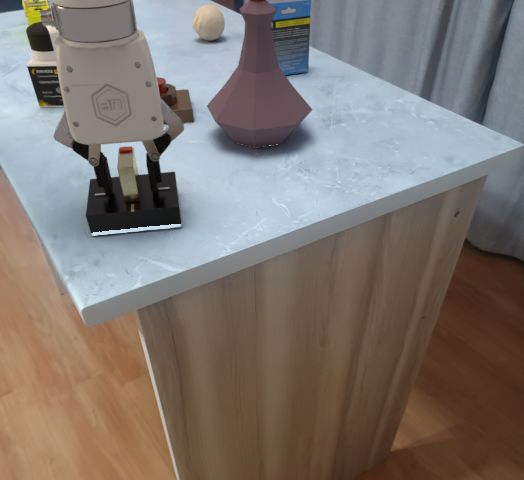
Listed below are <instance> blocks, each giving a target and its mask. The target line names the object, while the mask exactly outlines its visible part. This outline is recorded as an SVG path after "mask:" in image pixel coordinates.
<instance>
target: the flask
mask: <svg viewBox="0 0 524 480" xmlns="http://www.w3.org/2000/svg"><path fill="white" fill-rule="evenodd" d="M271 4H272V3H270V2H269V1H268V0H248V1H247V2H245V3H244V4H243V5H242V6H241V7H240V8H239V12H240V14H241V16H242V19H243V22H244V35H243V41H242V45H241V50H240V56H239V60H238V65H237V67H236V68H235V69H234V70H233V72H232V74H231V75H230V77H229V78H228V80H227V81H226V82H225V84H224V85H223V86H222V87H221V88H220V90H219V91H218V92H217V93H216V94H215V95H214V96H213V98H212V99H211V100H210V101H209V102H208V103H207V105H206V107H207V109H208V111H209V113H210V115H211V116H212V118H213V121H214V122H215V123H216V124H217V125H218V126H219V128H221V129H222V131H223V132H224V133H225V134H226V135H227V136H228V137H229V138H230V139H231V140H232V141H233V142H234V143H235V144H236V143H239V144H238V145H240V144H243V145H242V146H244V145H247V146H246V147H249V146H251V147H250V148H253V147H255V148H254V149H257V148H256V147H262V148H264V147H263V146H269V145H276V144H279V145H280V144H282V143H283V142H284V141H285V140H286V139H288V138H289V137H290V136H291V134H293V132H294V131H295V130H296V129H297V127H299V126H300V125H301V123H302V122H303V121H304V120H305V119H306V118H307V117H308V115H310V113H311V112H312V111H313V108H312V107H311V106H310V105H309V103H308V102H307V101H306V100H305V98H304V97H303V96H302V94H300V93H299V92H298V90H297V89H296V88H295V87H294V85H293V84H292V83H291V82H290V80H289V78H288V77H287V75H285V74H284V73H283V71H282V70H281V69H280V67H279V64H278V60H277V55H276V51H275V47H274V43H273V38H272V27H271V22H272V20H273V17H274V15H275V13H276V9H275V8H274V7H273V6H272V5H271ZM288 136H289V137H288ZM282 141H283V142H282ZM281 142H282V143H281ZM276 146H277V145H276ZM269 147H270V146H269Z"/></svg>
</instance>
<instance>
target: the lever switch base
mask: <svg viewBox="0 0 524 480" xmlns="http://www.w3.org/2000/svg"><path fill="white" fill-rule="evenodd" d="M176 175H177V174H176V171H169V172H168V171H166V172H161V176H162V182H161V183H157V193H153V192H151V187H150V181H149V176H148V173H143V174H139V179H140V201H137V202H126V203H125V201H124V196H123V192H122V187H121V183H120V178H119V176H111V178H112V183H113V190H112V196H111V197H106V195H105V191H104V187H102V188H99V186H98V183H97V179H96V178H89V185H88V193H87V194H88V195H87V202H86V211H85V219H86V221H87V222H86V223H87V225H88V229H89V232H90V234H91V233H93V232H99V231H100V232H102V231H109V230H121V229H130V228H138V227H147V226H148V227H149V226H160V225H169V224H170V225H171V224H181V223H182V215H181V206H180V199H179V191H178V190H179V189H178V183H177V176H176ZM179 206H180V207H179Z"/></svg>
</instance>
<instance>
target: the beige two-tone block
mask: <svg viewBox="0 0 524 480" xmlns="http://www.w3.org/2000/svg"><path fill="white" fill-rule="evenodd" d="M116 167H117V174H118V177H119V178H120V183H121V187H122V192H123V196H124V201H125V203H126V202H137V201H140V179H139V175H140V174H139V170H138V163H137V158H136V153H135V148H134V147H133V146H120V147H118V152H117V166H116Z"/></svg>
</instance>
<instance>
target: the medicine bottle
mask: <svg viewBox="0 0 524 480" xmlns="http://www.w3.org/2000/svg"><path fill="white" fill-rule="evenodd" d="M25 33H26V36H27V39H28V43H29V46H30V48H31V53H32V55H33V56H32V57H31V59H30V60H29V61H28V62H27V63H26V68H27V71H28V75H29V78H30V81H31V85H32V86H33V90H34V93H35V97H36V100H37V103H38V106H39V108H45V109H46V108H65V107H64V103H63V98H62V94H61V89H60V83H59V78H58V72H57V65H56V58H55V45H54V42H55V40H56V39H57V38H58V37H59V32H58V30H56V28H55V27H51V26H43V24H42V22H37V23H33V24H31V25H30V26H29V25H28V27H26V30H25Z"/></svg>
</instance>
